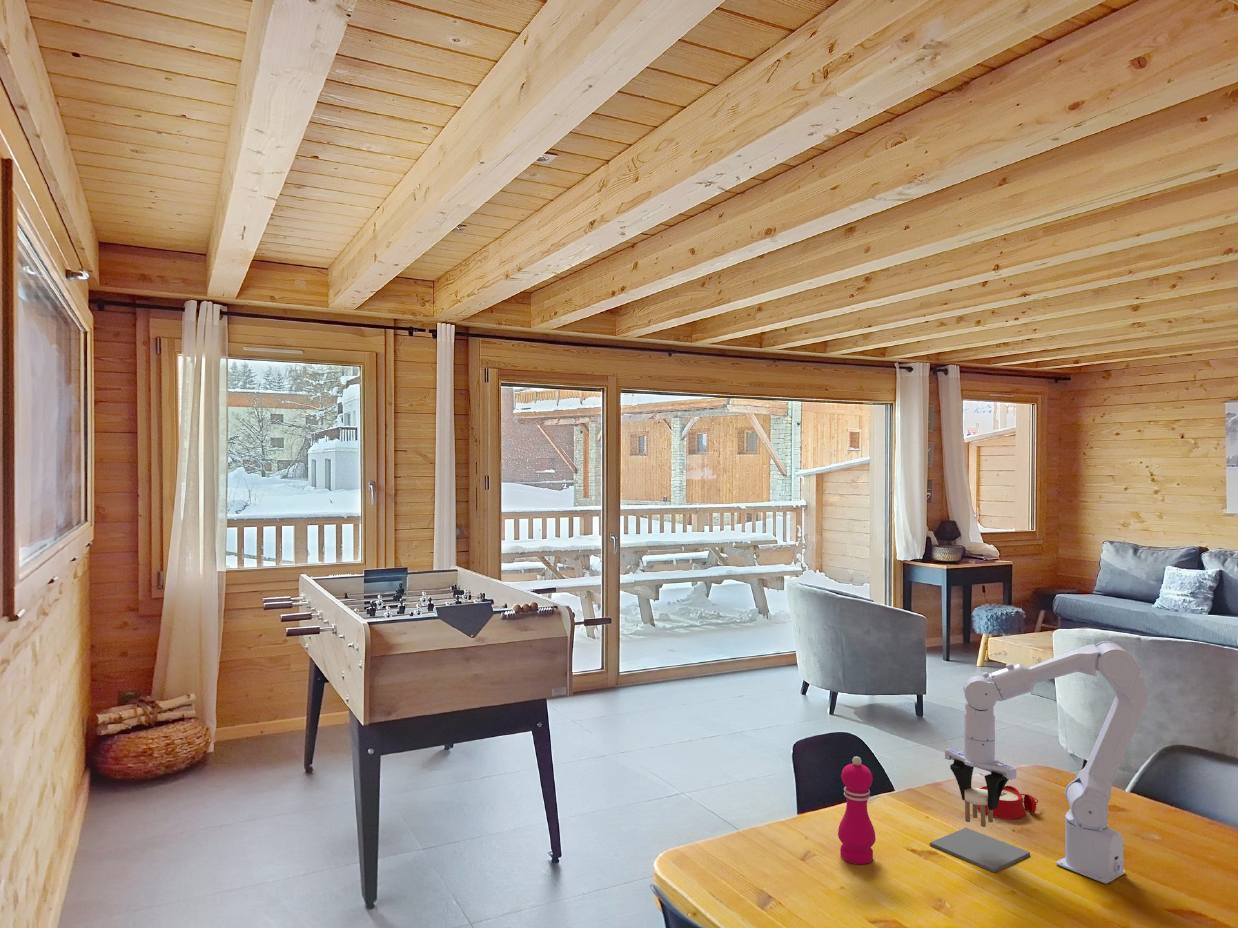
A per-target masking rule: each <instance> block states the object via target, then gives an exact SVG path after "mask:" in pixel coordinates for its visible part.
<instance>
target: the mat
mask: <svg viewBox="0 0 1238 928" xmlns="http://www.w3.org/2000/svg"><path fill="white" fill-rule="evenodd" d="M929 846H930V847H933V848H934V849H937V850H939V851H943V852H944V853H947V854H948V855H952V856H954V857H956V858H958V859H961V860H963V861H965V862H968V863H971V864H973V865H975V866H977V867H980V868H982V869H985V870H987V871H990V872H992V873H996V872H999V871H1001V870H1002V868H1003V869H1005V868H1007V867H1009V866H1011V865H1013V864H1015V863H1017V862H1019V861H1021V860H1023V859H1025V857H1026V858H1027V857H1029V855H1030V856H1031V852H1030V851H1028V850H1025V849H1022V848H1020V847H1017V846H1015V845H1013V844H1010V843H1007V842H1004V841H1002V840H1000V839H997V838H994V837H992V836H990V835H987V834H984V833H982V832H978V831H977V830H974V829H972V828H969V827H964V828H962V829H959V830H957V831H954V832H952V833H950V834H947V835H944V836H942V837H939V838H937V839H935V840H931V842H929ZM1006 866H1007V867H1006ZM1004 867H1005V868H1004Z"/></svg>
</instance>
